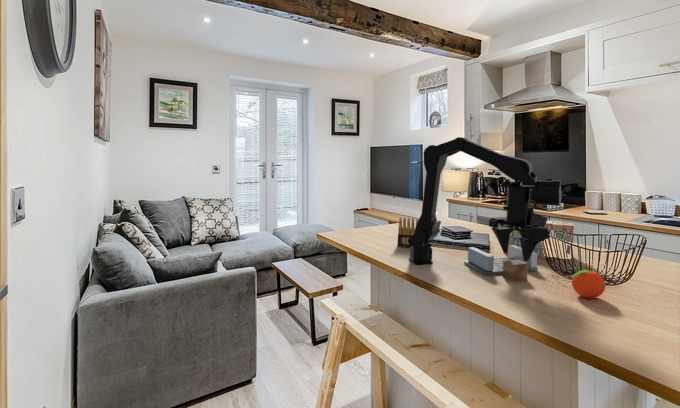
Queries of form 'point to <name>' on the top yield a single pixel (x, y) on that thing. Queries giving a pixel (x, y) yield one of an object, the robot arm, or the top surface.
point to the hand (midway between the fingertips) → (515, 256)
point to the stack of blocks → (550, 225)
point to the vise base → (513, 254)
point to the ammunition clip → (405, 231)
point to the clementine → (588, 283)
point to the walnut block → (515, 270)
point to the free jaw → (480, 258)
